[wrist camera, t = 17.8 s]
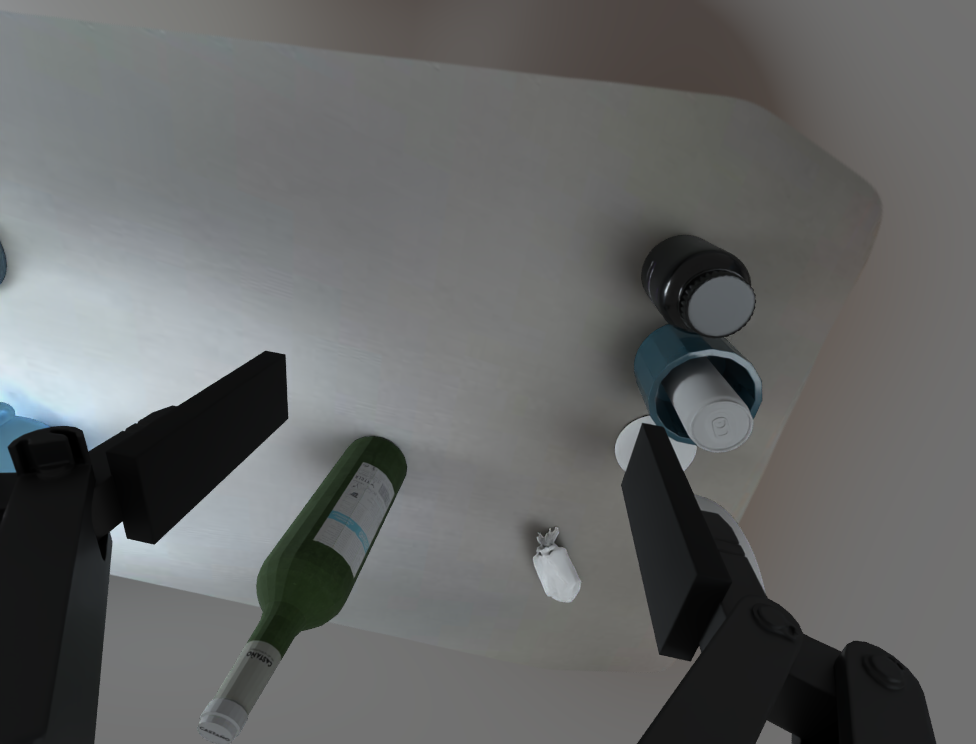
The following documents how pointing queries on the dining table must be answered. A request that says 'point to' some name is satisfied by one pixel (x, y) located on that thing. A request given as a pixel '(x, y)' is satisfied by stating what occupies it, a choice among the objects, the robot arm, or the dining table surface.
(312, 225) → the dining table surface
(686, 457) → the wineglass
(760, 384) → the cup
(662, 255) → the supplement bottle
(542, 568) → the white oblong lump
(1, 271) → the cocktail glass
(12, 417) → the teapot
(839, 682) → the robot arm
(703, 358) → the beverage can
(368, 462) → the wine bottle
